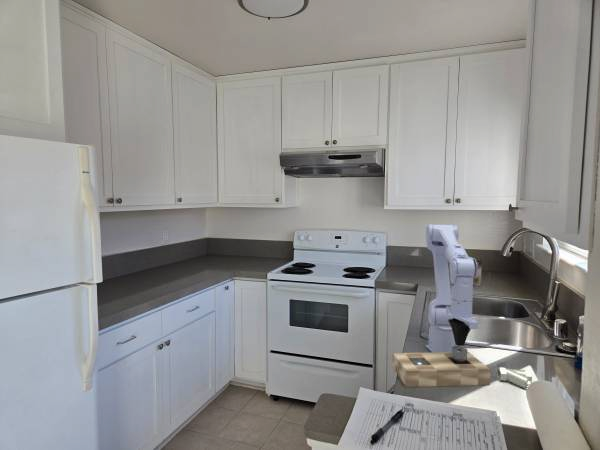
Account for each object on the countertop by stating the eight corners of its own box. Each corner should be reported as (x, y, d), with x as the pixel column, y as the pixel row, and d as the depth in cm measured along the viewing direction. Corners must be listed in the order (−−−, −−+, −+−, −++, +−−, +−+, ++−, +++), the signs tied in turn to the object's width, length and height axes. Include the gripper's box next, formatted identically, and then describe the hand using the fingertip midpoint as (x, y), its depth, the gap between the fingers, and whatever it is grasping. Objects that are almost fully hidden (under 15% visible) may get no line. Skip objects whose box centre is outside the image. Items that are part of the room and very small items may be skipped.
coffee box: (465, 286, 225) (466, 260, 224) (461, 283, 231) (462, 258, 230) (481, 286, 224) (482, 260, 223) (477, 284, 230) (478, 258, 229)
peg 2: (448, 359, 111) (449, 346, 111) (462, 358, 111) (462, 345, 111) (455, 365, 107) (456, 351, 107) (469, 365, 107) (470, 351, 107)
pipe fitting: (535, 393, 101) (527, 380, 107) (537, 380, 100) (528, 367, 106) (503, 389, 102) (496, 376, 109) (504, 376, 102) (497, 364, 108)
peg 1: (409, 371, 110) (409, 358, 110) (423, 371, 111) (423, 358, 110) (414, 378, 106) (415, 364, 106) (428, 378, 106) (429, 364, 106)
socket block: (392, 367, 114) (392, 353, 114) (467, 365, 116) (468, 351, 115) (406, 386, 102) (406, 371, 102) (489, 384, 104) (490, 369, 103)
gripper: (437, 293, 115) (435, 335, 116) (461, 306, 100) (458, 355, 101) (459, 292, 115) (457, 335, 116) (486, 306, 101) (483, 354, 102)
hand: (459, 344), depth 109 cm, fingers closed
